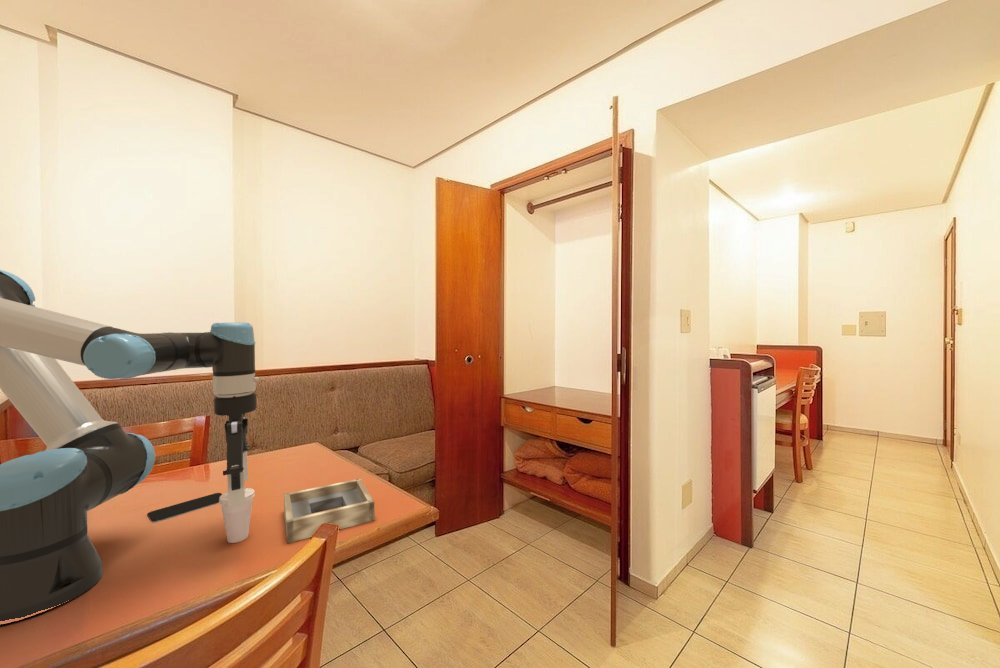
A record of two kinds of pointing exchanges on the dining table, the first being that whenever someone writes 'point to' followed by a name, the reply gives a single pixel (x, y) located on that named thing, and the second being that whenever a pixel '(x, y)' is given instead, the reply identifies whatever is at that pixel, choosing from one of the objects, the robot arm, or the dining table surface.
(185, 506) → the smartphone
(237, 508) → the smoothie
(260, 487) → the dining table surface
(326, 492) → the socket box
